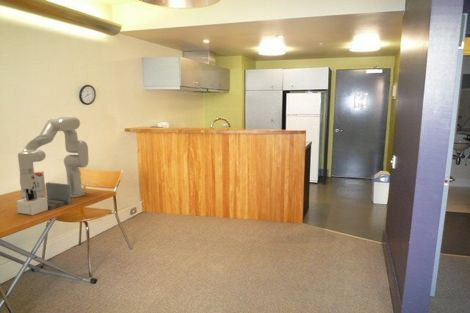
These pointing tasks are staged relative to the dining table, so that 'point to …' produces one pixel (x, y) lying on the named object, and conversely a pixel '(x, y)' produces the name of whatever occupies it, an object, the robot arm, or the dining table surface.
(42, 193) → the cracker box
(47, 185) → the grey piece
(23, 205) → the white rectangular box
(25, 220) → the dining table surface
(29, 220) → the dining table surface
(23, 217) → the dining table surface
